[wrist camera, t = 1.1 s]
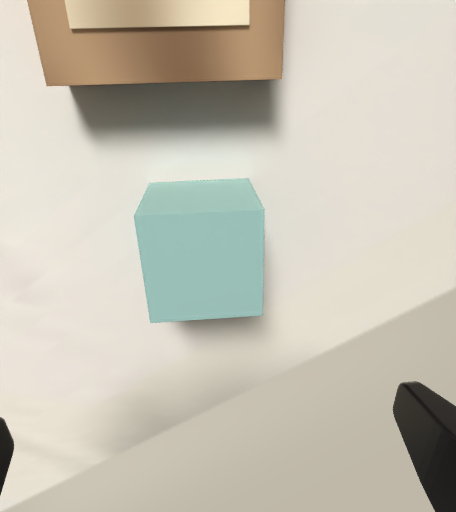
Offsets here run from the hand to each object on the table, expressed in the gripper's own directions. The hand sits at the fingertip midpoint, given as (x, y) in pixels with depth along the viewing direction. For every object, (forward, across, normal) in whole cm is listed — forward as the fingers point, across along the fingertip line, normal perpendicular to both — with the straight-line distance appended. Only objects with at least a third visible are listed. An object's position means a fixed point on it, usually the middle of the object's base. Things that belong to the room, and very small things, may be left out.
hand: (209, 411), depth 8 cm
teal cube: (+12, 0, 0) cm, 12 cm away
